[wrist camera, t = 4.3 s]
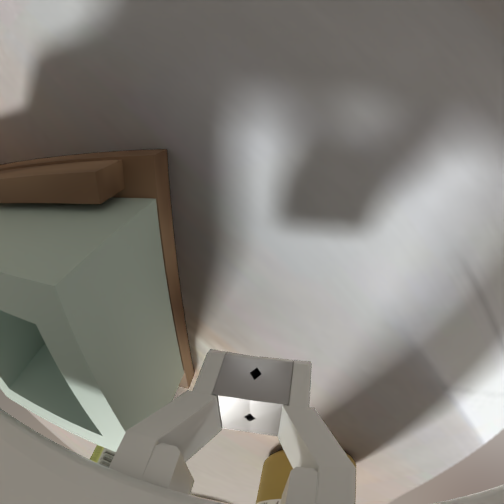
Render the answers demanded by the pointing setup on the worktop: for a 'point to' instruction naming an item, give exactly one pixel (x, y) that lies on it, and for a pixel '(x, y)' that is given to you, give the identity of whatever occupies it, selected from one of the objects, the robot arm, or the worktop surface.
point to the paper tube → (276, 478)
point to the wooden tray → (98, 191)
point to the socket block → (86, 315)
